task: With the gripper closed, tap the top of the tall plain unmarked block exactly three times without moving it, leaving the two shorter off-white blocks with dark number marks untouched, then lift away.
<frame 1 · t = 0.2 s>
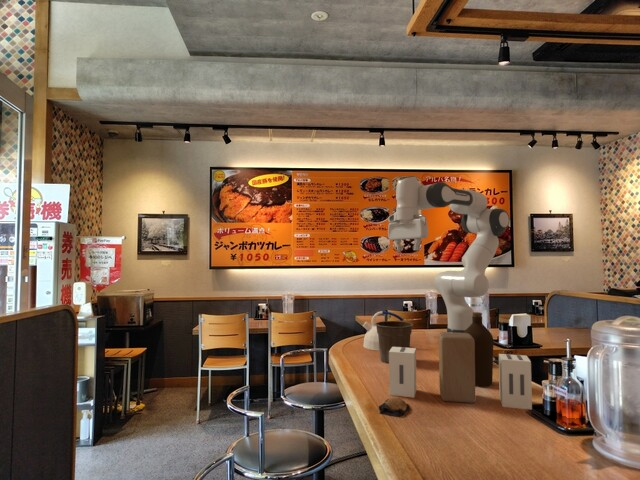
hand: (407, 250, 165), 48 cm above the counter, tool pointing down, fingers open, 8 cm apart
block: (456, 398, 131), on the counter
olive oil: (478, 383, 147), on the counter
plant pot: (394, 361, 179), on the counter
kettle: (383, 347, 208), on the counter
marked block one: (403, 392, 137), on the counter
marked block two: (515, 403, 126), on the counter
bread roll: (394, 411, 121), on the counter
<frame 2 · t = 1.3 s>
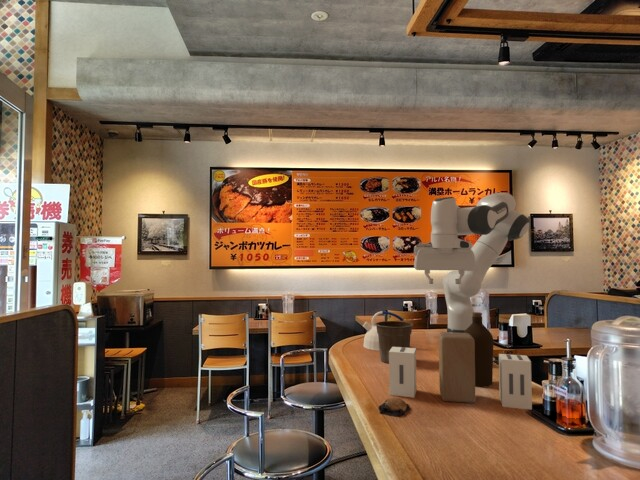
hand: (444, 283, 141), 36 cm above the counter, tool pointing down, fingers open, 8 cm apart
nothing on the counter moved.
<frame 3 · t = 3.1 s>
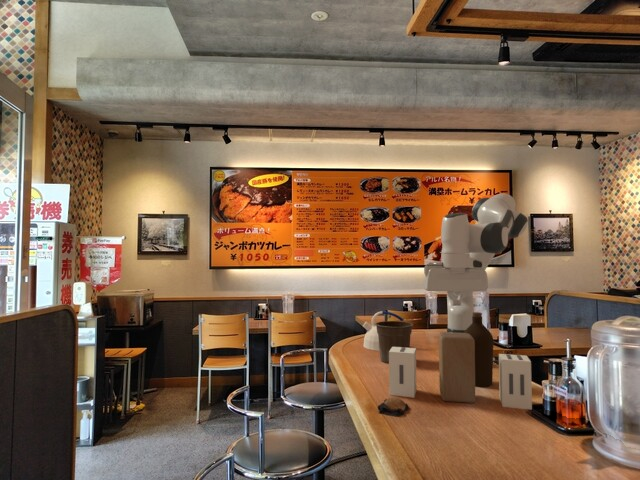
hand: (455, 305, 133), 29 cm above the counter, tool pointing down, fingers closed
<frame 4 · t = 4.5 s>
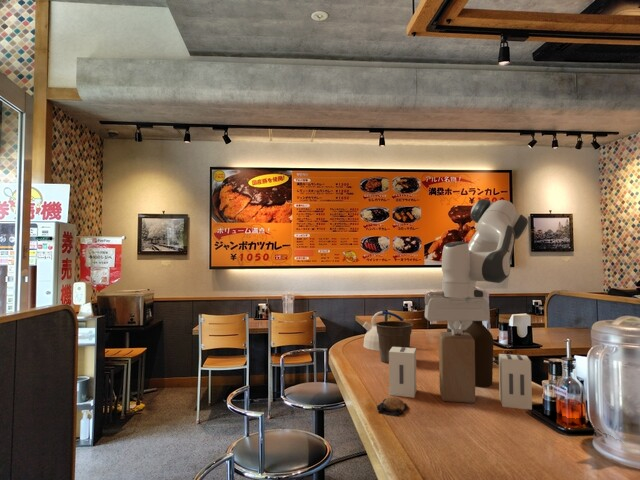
hand: (457, 334, 132), 20 cm above the counter, tool pointing down, fingers closed, pressing on block
block: (456, 398, 131), on the counter, touching gripper
everything else where it was.
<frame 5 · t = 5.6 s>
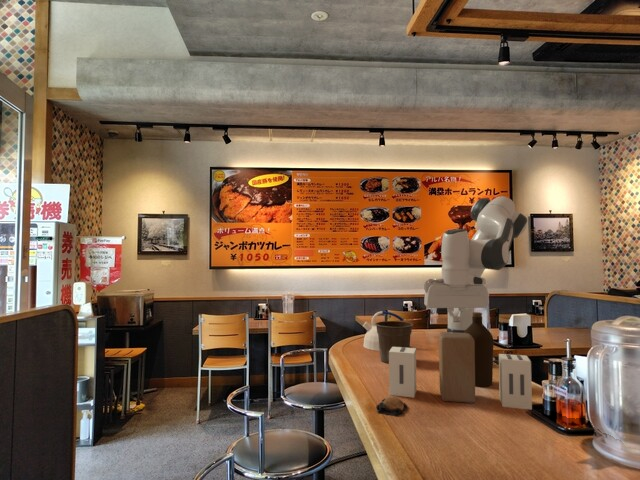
hand: (456, 321, 132), 24 cm above the counter, tool pointing down, fingers closed
block: (456, 398, 131), on the counter
everything else where it was.
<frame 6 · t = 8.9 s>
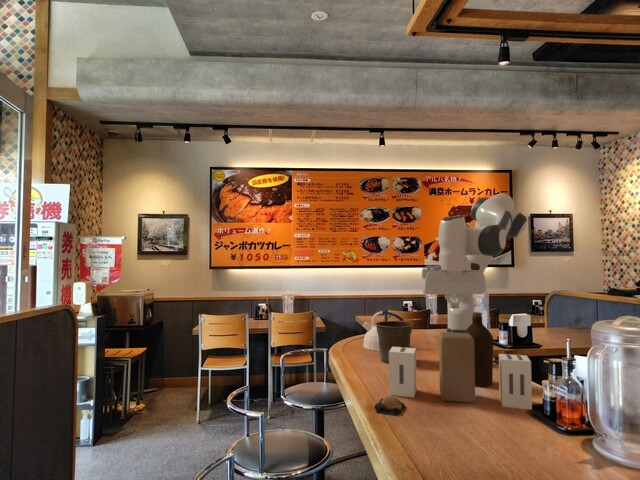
hand: (453, 308, 133), 28 cm above the counter, tool pointing down, fingers closed
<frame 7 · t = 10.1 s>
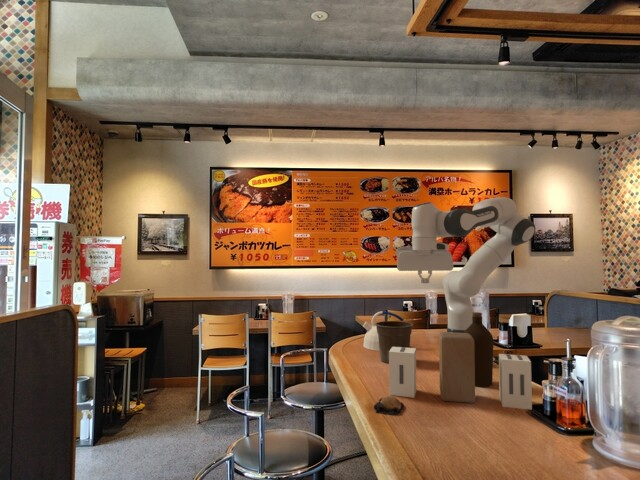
hand: (425, 283, 152), 35 cm above the counter, tool pointing down, fingers closed
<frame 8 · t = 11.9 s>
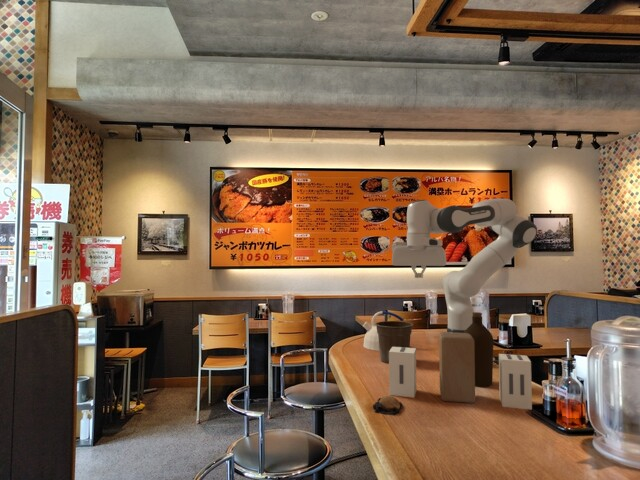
hand: (418, 277, 157), 37 cm above the counter, tool pointing down, fingers closed
at the end: block moved 0.2 cm from its start; block tilted 0°; marked block one moved 0.1 cm from its start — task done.
